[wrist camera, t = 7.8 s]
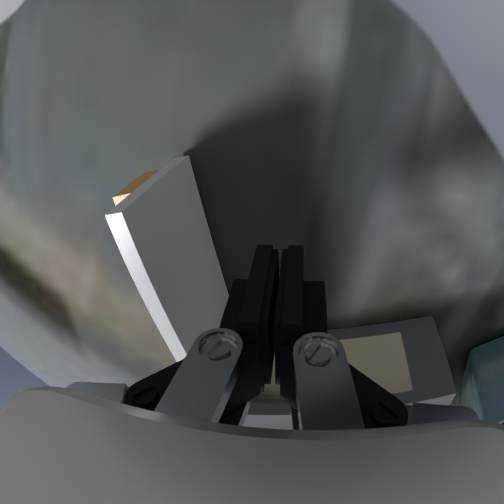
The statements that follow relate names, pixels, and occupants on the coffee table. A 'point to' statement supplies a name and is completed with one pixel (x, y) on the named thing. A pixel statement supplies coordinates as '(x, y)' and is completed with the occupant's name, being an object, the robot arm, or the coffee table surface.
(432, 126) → the coffee table surface
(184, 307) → the side door
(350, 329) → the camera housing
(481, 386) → the flower pot
